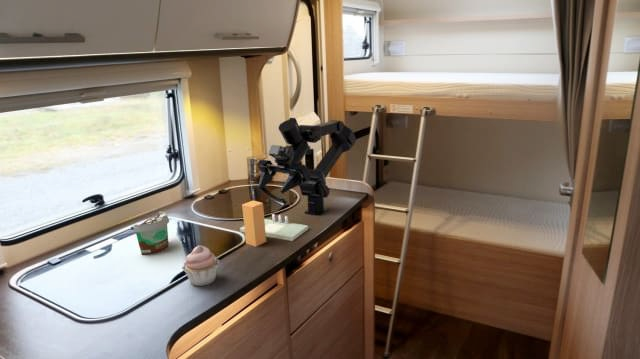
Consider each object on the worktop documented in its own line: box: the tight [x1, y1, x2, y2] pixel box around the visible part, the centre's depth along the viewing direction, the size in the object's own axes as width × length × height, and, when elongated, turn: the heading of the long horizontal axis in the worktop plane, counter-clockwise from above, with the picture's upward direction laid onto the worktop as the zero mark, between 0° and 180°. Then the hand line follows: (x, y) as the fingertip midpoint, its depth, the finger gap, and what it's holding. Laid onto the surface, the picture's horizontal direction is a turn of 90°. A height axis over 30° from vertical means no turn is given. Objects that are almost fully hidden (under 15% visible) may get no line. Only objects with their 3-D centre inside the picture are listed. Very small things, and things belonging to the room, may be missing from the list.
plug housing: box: [241, 200, 267, 247], centre depth 137 cm, size 4×4×13 cm
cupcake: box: [181, 245, 220, 287], centre depth 116 cm, size 9×9×10 cm
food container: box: [133, 211, 170, 256], centre depth 137 cm, size 12×6×10 cm, turn 161°
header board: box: [239, 213, 309, 242], centre depth 147 cm, size 10×20×4 cm, turn 62°
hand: (269, 190), depth 139 cm, fingers open, 9 cm apart
